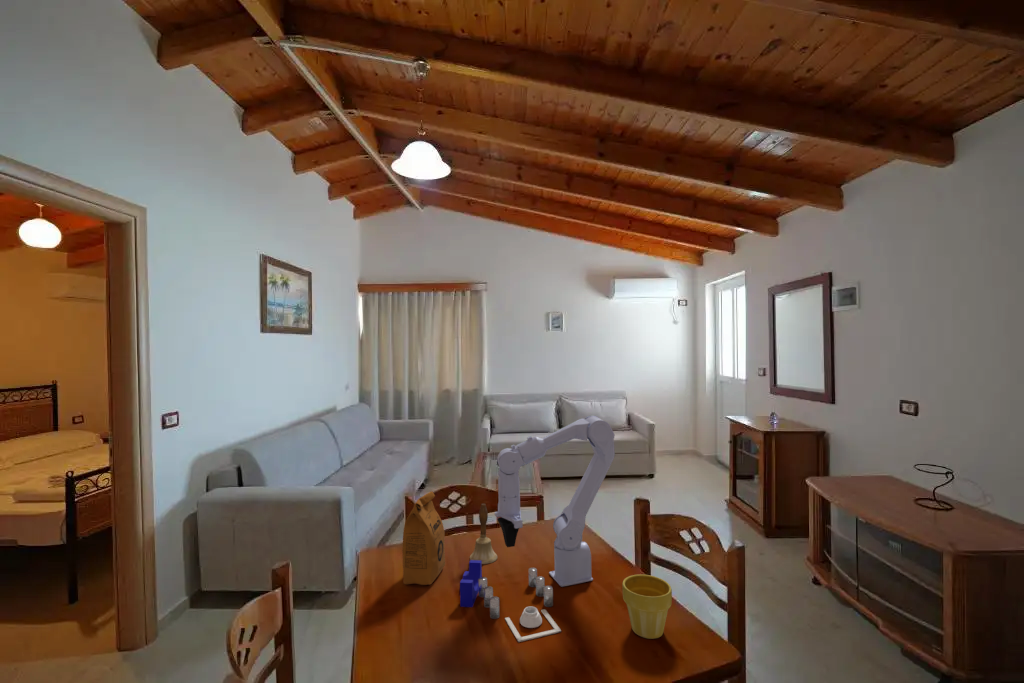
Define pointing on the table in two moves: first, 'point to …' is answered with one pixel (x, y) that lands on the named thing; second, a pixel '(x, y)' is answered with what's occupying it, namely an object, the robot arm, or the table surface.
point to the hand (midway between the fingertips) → (510, 545)
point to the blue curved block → (470, 584)
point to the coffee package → (423, 543)
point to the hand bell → (483, 541)
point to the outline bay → (520, 639)
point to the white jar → (530, 617)
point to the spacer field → (534, 581)
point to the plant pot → (647, 604)
